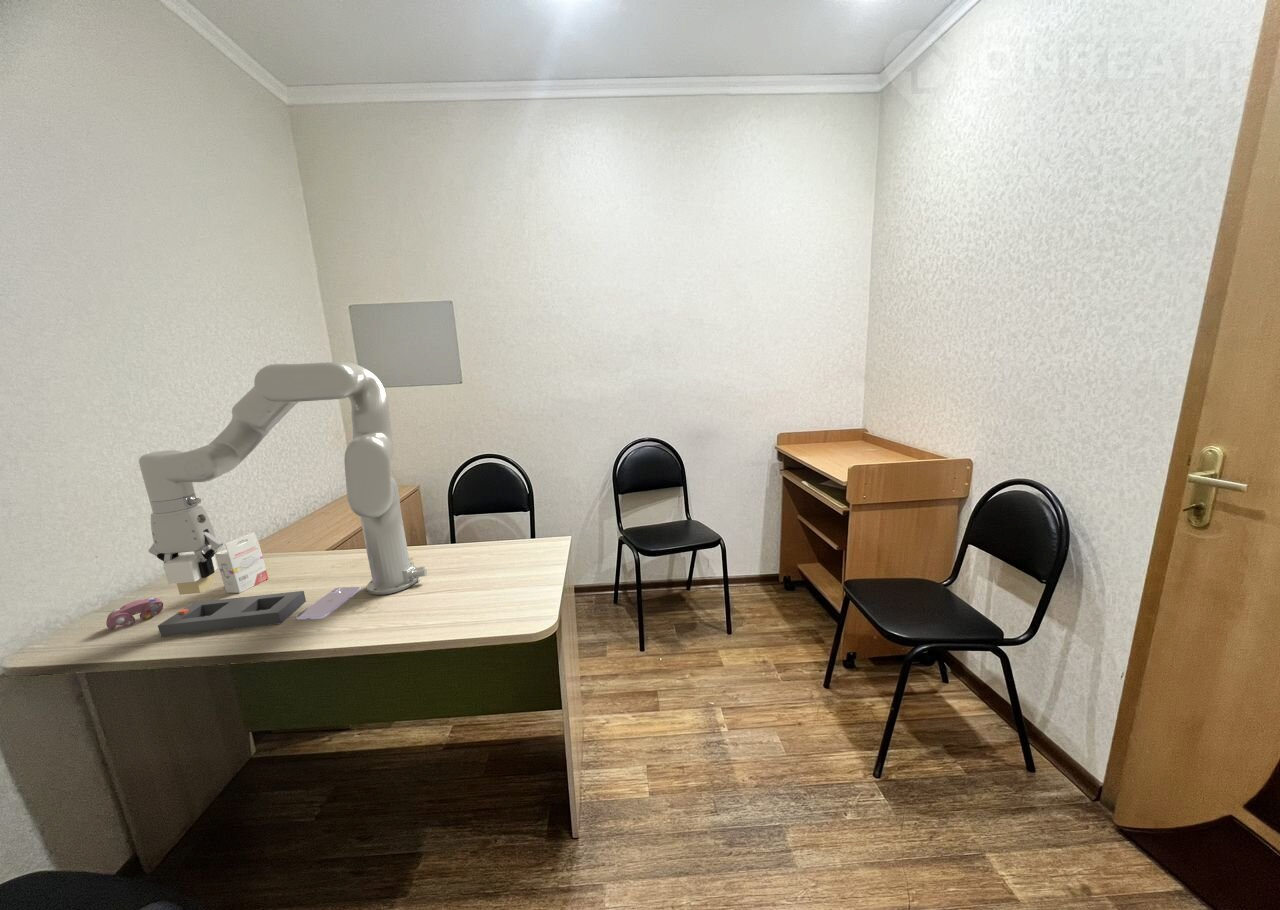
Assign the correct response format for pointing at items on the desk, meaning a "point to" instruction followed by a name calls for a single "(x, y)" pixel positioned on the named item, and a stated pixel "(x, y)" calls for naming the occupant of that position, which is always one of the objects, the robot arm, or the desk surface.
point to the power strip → (233, 613)
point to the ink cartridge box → (241, 564)
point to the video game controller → (134, 612)
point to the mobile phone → (328, 603)
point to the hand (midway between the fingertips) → (193, 576)
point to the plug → (188, 573)
